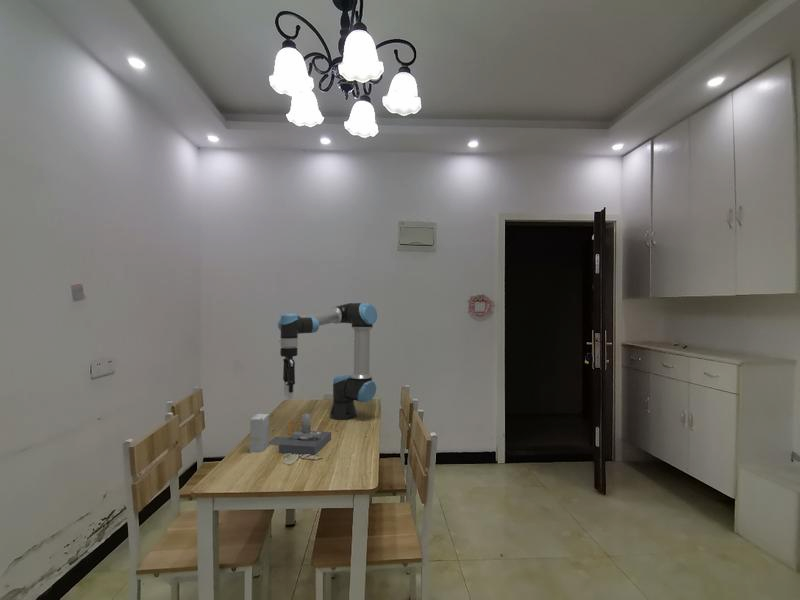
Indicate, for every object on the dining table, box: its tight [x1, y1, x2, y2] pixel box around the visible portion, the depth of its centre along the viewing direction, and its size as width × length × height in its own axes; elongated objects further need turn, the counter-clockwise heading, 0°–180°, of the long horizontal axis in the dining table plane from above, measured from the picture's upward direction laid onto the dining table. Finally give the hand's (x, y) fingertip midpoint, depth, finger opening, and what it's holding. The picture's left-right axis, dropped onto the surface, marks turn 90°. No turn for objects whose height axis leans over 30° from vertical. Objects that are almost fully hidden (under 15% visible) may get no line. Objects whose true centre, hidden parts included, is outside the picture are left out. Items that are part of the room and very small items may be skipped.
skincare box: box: [249, 413, 270, 454], centre depth 173 cm, size 8×6×15 cm
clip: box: [288, 419, 322, 436], centre depth 176 cm, size 5×14×6 cm, turn 80°
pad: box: [269, 436, 288, 446], centre depth 183 cm, size 10×10×1 cm
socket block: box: [278, 429, 332, 456], centre depth 177 cm, size 20×16×6 cm
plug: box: [298, 412, 314, 441], centre depth 177 cm, size 7×7×14 cm
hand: (288, 397), depth 181 cm, fingers open, 7 cm apart
